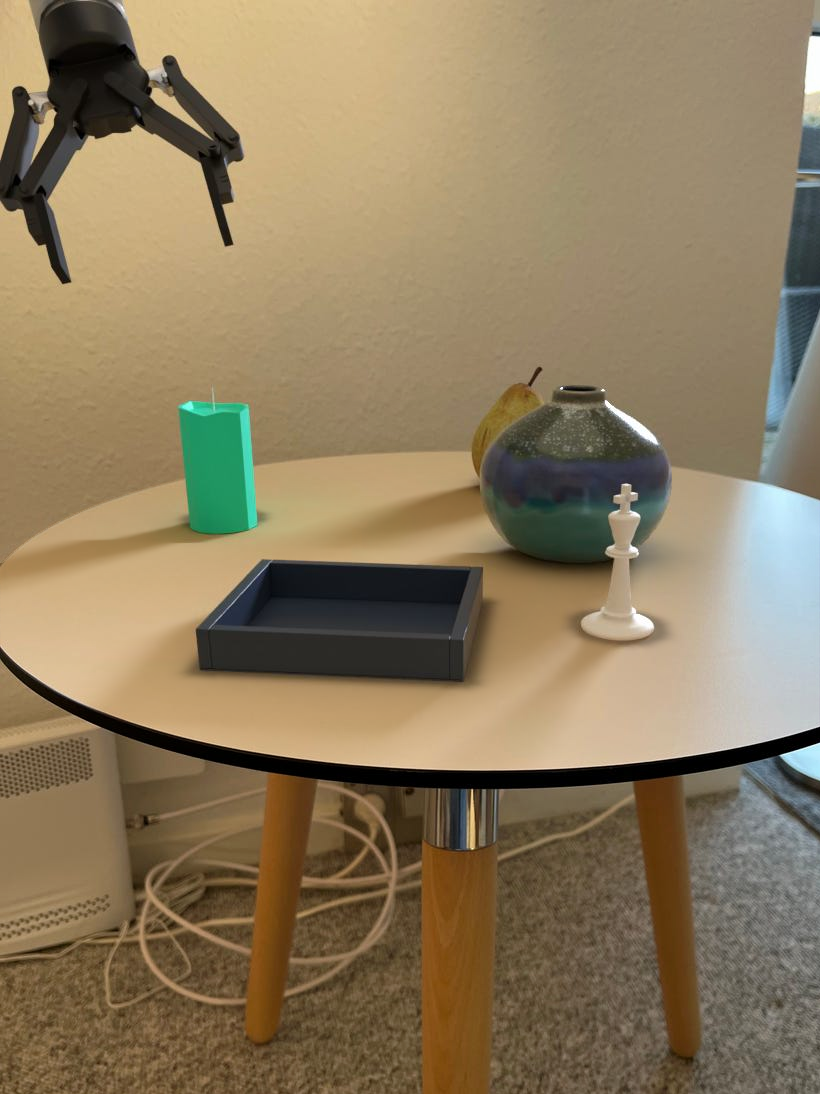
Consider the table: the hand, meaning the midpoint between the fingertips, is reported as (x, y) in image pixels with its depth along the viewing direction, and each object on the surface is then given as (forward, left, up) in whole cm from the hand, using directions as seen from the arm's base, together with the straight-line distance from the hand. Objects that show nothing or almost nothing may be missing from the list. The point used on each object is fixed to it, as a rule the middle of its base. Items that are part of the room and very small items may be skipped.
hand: (145, 256), depth 83 cm
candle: (+5, 0, -23) cm, 23 cm away
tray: (+22, -26, -22) cm, 41 cm away
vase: (+36, -5, -23) cm, 43 cm away
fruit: (+30, +18, -23) cm, 41 cm away
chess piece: (+39, -23, -23) cm, 51 cm away
